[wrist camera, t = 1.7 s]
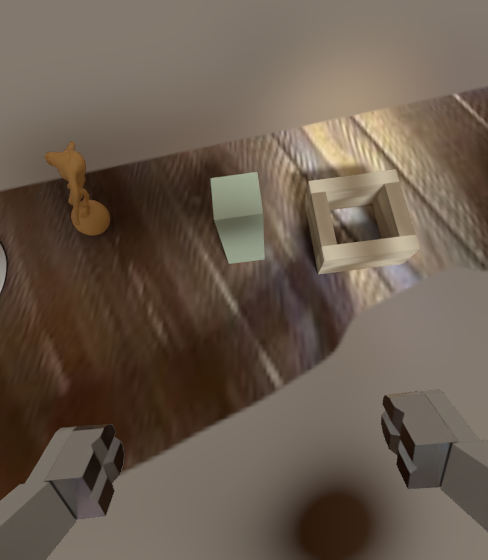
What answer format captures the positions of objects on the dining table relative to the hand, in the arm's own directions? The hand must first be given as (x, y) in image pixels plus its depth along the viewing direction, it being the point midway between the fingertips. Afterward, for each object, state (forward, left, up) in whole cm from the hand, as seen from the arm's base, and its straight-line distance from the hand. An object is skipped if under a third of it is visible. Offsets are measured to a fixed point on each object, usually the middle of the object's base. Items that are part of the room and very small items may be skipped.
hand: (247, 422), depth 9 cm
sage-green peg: (0, +16, -22) cm, 27 cm away
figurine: (-16, +21, -22) cm, 34 cm away
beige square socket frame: (+12, +16, -22) cm, 30 cm away
